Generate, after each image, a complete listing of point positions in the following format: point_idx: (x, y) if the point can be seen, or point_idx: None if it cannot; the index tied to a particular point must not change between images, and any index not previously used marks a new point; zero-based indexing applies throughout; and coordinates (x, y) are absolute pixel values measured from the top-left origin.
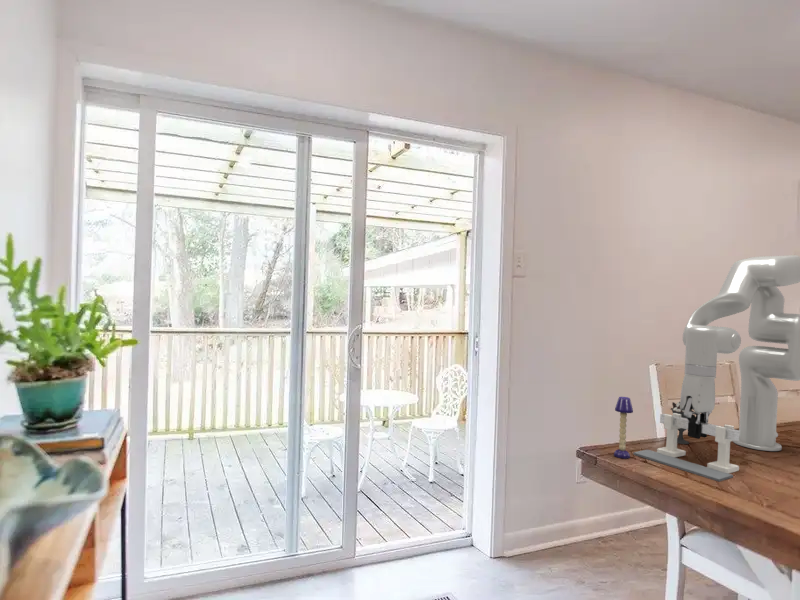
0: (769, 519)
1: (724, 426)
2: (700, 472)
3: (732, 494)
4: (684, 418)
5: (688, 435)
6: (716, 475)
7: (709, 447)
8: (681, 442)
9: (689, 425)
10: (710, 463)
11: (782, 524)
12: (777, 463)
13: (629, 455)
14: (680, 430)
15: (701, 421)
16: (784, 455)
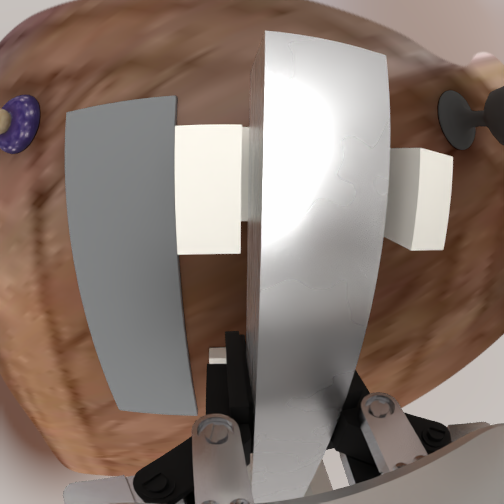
0: (68, 460)
1: (313, 494)
2: (111, 371)
3: (86, 430)
4: (340, 332)
5: (225, 336)
6: (138, 400)
7: (472, 211)
8: (448, 128)
9: (230, 392)
10: (220, 362)
11: (74, 467)
12: (439, 368)
13: (18, 148)
14: (485, 118)
15: (336, 435)
16: (498, 330)
